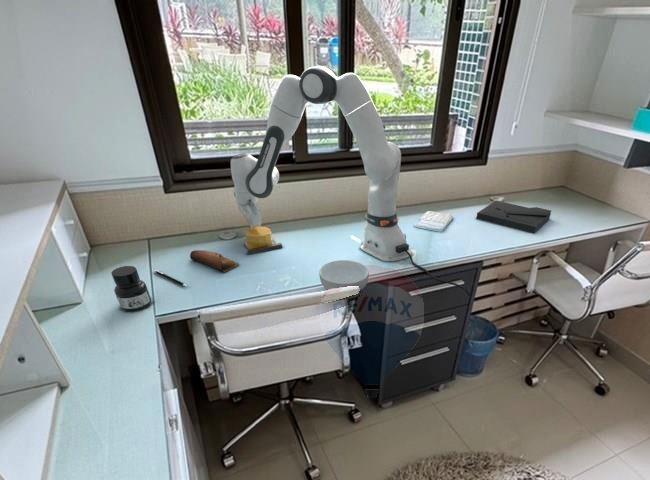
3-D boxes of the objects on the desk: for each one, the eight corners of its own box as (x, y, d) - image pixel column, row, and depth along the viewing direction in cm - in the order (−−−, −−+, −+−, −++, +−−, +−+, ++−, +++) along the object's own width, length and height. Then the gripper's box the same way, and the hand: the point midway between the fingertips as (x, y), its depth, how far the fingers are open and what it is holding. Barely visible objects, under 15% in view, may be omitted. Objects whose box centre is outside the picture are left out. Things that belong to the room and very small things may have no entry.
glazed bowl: (277, 246, 166) (275, 233, 163) (250, 252, 162) (248, 238, 158) (268, 236, 174) (266, 224, 171) (242, 241, 169) (240, 229, 166)
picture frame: (549, 218, 199) (494, 206, 212) (551, 210, 197) (496, 198, 210) (534, 233, 184) (476, 218, 197) (536, 224, 181) (477, 210, 194)
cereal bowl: (350, 307, 131) (350, 288, 126) (310, 292, 138) (308, 274, 133) (377, 285, 142) (378, 267, 138) (339, 273, 149) (338, 255, 145)
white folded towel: (453, 218, 197) (453, 214, 196) (441, 232, 182) (441, 228, 181) (427, 213, 201) (427, 209, 200) (413, 227, 186) (413, 223, 185)
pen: (155, 271, 147) (154, 268, 146) (188, 286, 138) (187, 284, 138) (153, 272, 146) (152, 269, 146) (186, 287, 138) (185, 285, 137)
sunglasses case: (240, 263, 152) (230, 252, 147) (229, 278, 150) (219, 267, 145) (208, 251, 160) (197, 241, 154) (197, 265, 158) (186, 255, 152)
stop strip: (282, 247, 166) (281, 244, 165) (248, 254, 160) (247, 251, 159) (280, 246, 167) (280, 242, 166) (247, 253, 161) (246, 249, 160)
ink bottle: (118, 314, 124) (104, 280, 117) (120, 300, 131) (106, 267, 124) (153, 308, 128) (141, 274, 120) (153, 294, 134) (141, 262, 127)
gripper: (262, 203, 158) (267, 236, 166) (247, 188, 172) (252, 220, 180) (246, 205, 155) (252, 239, 164) (232, 190, 170) (238, 222, 178)
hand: (252, 229), depth 172 cm, fingers closed
